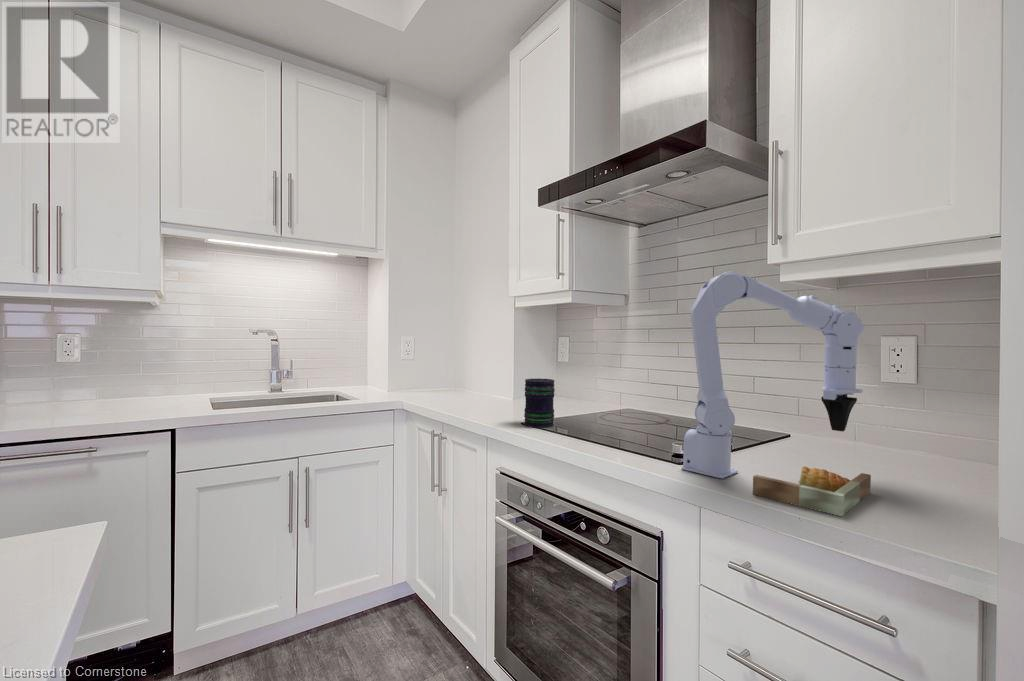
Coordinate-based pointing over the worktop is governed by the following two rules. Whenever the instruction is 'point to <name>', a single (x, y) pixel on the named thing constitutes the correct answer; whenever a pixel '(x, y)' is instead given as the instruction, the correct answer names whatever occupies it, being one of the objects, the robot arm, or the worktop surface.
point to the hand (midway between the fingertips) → (838, 430)
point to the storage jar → (539, 403)
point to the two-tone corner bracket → (814, 493)
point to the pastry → (821, 479)
